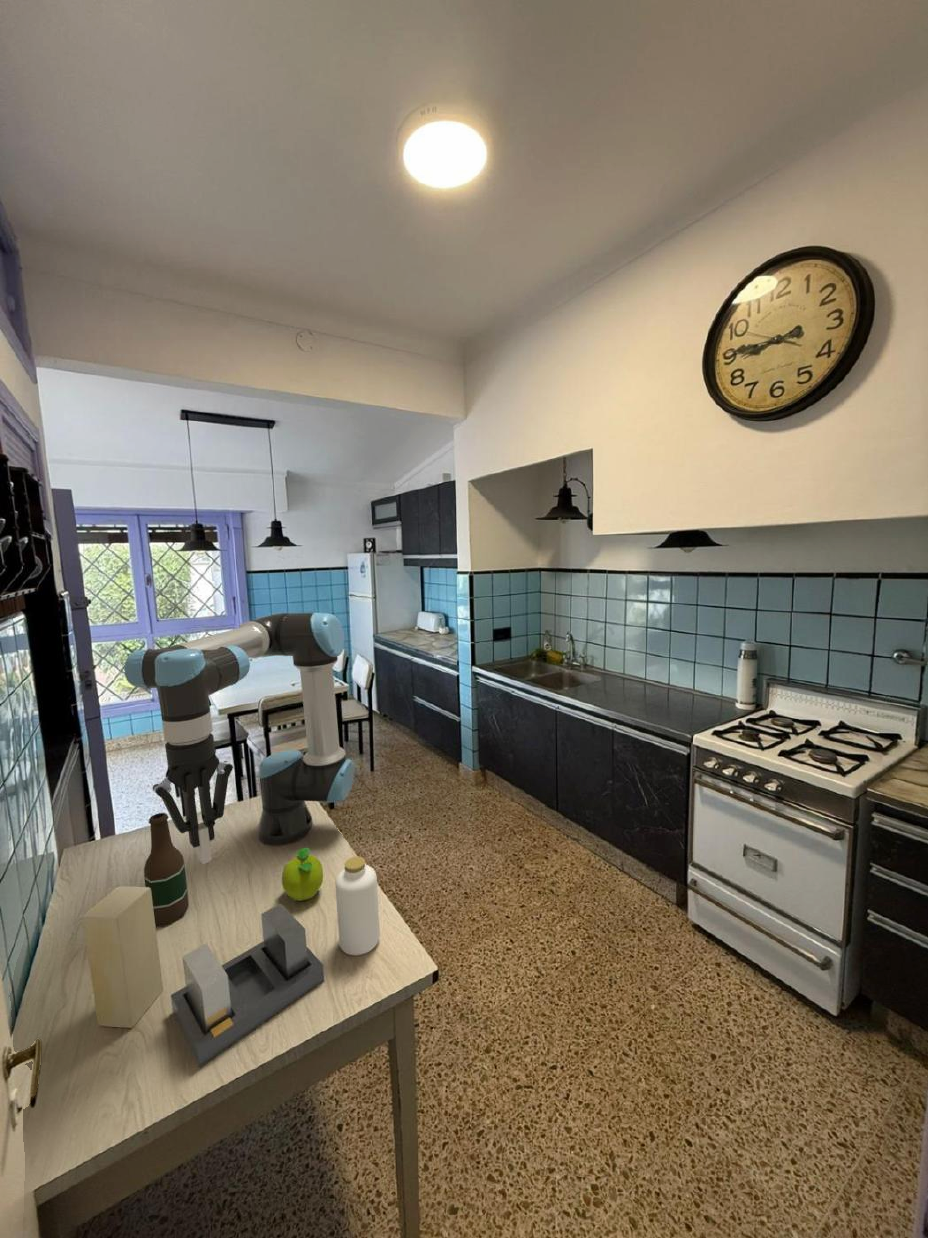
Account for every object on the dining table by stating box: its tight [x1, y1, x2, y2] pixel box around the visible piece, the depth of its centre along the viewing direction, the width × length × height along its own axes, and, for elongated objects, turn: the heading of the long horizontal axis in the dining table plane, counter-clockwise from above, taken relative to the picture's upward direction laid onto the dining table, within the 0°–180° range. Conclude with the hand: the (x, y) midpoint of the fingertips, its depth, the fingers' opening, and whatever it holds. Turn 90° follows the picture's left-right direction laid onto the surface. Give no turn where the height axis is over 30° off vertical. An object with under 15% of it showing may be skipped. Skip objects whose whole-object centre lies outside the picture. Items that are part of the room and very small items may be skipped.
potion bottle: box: [334, 856, 381, 956], centre depth 102 cm, size 8×8×18 cm
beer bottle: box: [143, 812, 190, 927], centre depth 111 cm, size 8×8×24 cm
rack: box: [170, 903, 325, 1069], centre depth 91 cm, size 22×14×11 cm, turn 135°
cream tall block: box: [82, 886, 164, 1029], centre depth 88 cm, size 8×7×21 cm
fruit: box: [281, 847, 324, 902], centre depth 117 cm, size 9×9×10 cm
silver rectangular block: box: [182, 943, 232, 1036], centre depth 86 cm, size 4×10×10 cm, turn 45°
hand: (204, 858), depth 91 cm, fingers closed
